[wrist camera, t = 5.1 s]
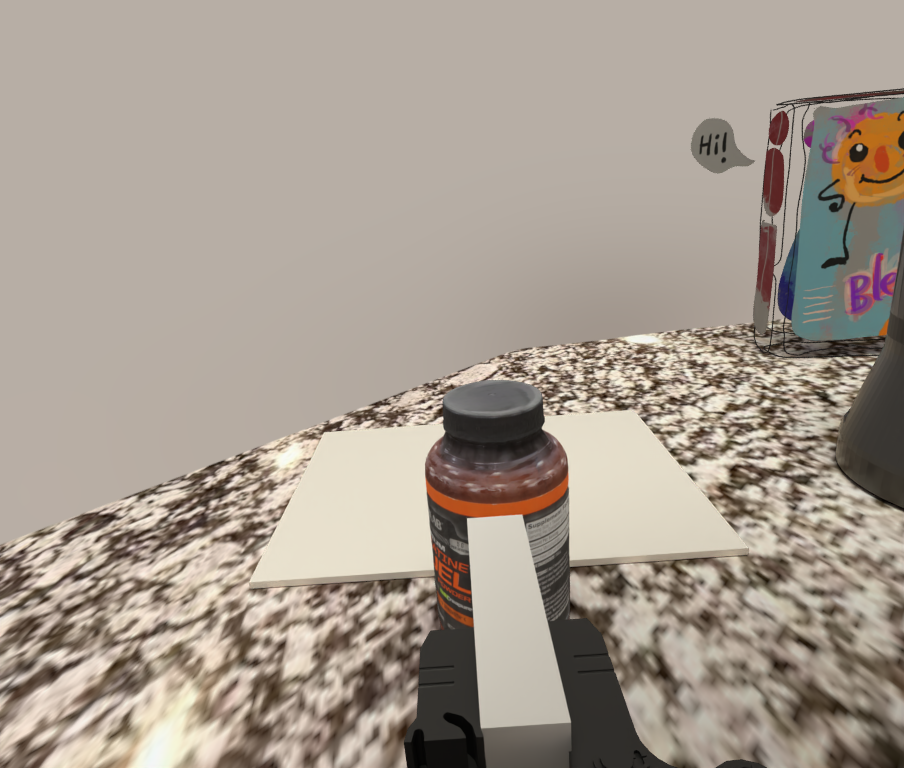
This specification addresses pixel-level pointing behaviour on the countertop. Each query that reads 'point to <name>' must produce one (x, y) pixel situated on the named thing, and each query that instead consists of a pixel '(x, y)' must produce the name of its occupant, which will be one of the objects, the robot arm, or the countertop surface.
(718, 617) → the countertop surface
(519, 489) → the supplement bottle
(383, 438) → the mat
